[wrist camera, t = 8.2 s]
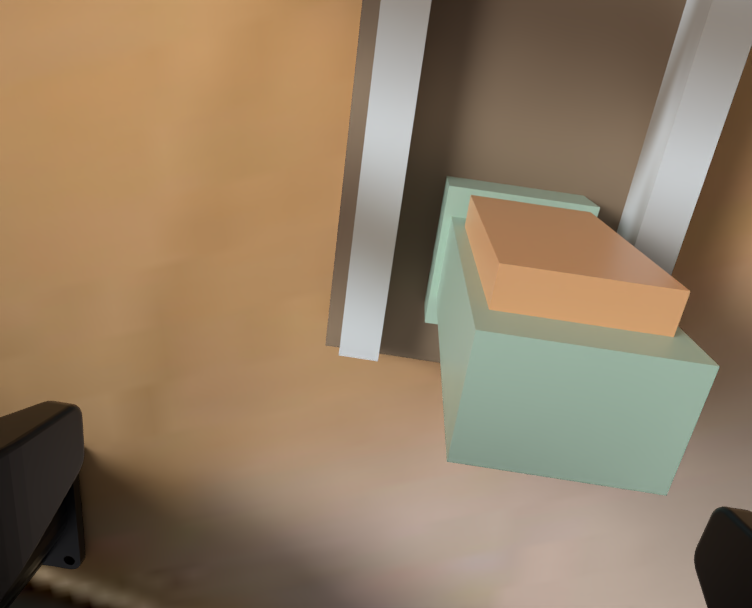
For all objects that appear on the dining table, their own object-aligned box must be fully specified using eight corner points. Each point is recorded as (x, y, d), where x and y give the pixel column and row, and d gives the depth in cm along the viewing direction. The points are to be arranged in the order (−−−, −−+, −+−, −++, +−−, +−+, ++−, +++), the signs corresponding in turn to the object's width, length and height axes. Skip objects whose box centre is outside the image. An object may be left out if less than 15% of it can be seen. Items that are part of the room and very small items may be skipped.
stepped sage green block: (549, 321, 18) (662, 535, 9) (424, 302, 18) (426, 498, 10) (583, 195, 16) (753, 318, 8) (446, 175, 16) (472, 277, 8)
